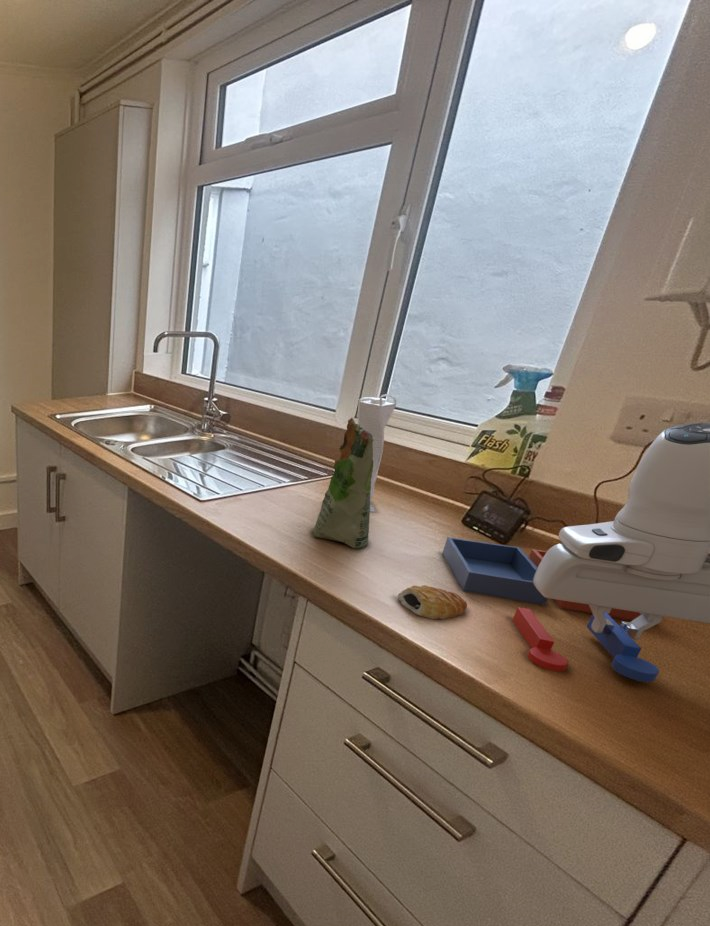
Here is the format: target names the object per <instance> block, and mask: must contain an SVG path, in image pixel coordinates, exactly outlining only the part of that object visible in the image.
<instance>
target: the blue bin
mask: <svg viewBox="0 0 710 926" xmlns="http://www.w3.org/2000/svg"><path fill="white" fill-rule="evenodd" d="M441 555H442V557H443V558H444V560H445V562H446V563H447V565H448V567H449V569H450V571H451V573H452V575H453V576H454V578H455V580H456V581H457V583H458V585H459V587H460V588H461V590H462V591H463V592H467V593H474V594H478V595H485V596H491V597H496V598H503V599H508V600H514V601H520V602H525V603H531V604H537V605H542V606H545V605H546V604H547V601H548V599H549V598H546V597H544V596H543V595H542V594H541V593H540V592H539V591H538V590H537V588H536V587H535V585H534V583H533V578H534V575H535V573H536V570H537V567H536V566H535V564H534V563H533V562H532V561H531V560H530V559H529V555H527V554H526V553H525V552H524V550H522V548H521V547H520V546H512V545H506V544H500V543H492V542H484V541H478V540H472V539H471V540H470V539H464V538H457V537H449V536H447V538H446V541H445V544H444V547H443V550H442V553H441Z"/></svg>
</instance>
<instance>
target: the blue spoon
mask: <svg viewBox="0 0 710 926" xmlns="http://www.w3.org/2000/svg"><path fill="white" fill-rule="evenodd" d="M603 614H604V616H605V619H609V620H610V621H611V623H613V624H614V625H615V626H614V628H613V630H611V634H609V635H608V634H601V633H596V632H594V631H593V629H592V628H591V625H592V622H593V620H594V618H595V617H594V616H593V613H591V616H590V618H589V620H588V623H587V625H586V628H587V629H588V630H589V632H590V633H591V634H592V635H593V636H594V637H595V639H597V641H598V642H599V643H600V644H601V645H602V646H603V648H604V649H605V650H606V651H607V652H608V653H609V654H610V656H611V657H612V658H613V659H612V662H611V664H610V665H611V668H612V669H613V670H614V671H615V672H617V674H619V675H622V676H624V677H626V678H628V679H631V680H634V681H638V682H642V683H653V682H655V680H656V678H657V676H658V675H659V674H660V670H659V668H658V667H657V665H654V664H653V663H651V662H650V661H648V660H646V659H643V658H640V657H638V656H639V655H640V652H641V650H642V648H641V646H639V644H638V643H636V642H635V640H634V639H632V638H631V637H630V636H629V635H628V634H627V633H626V632H625V631H624V630H623V629H622V628H621V625H619V624H618V623H617V622H616V620H614V619H613V618H612V617H611V616H609V615H608V614H606V613H603Z"/></svg>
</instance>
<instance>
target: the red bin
mask: <svg viewBox="0 0 710 926" xmlns="http://www.w3.org/2000/svg"><path fill="white" fill-rule="evenodd" d="M547 551H548V550H540V549H535V548H531V551H530V553H529V555H528V558H529V559H530V560H531V561H532V562H533V563H534V564H535V566H536V567H537V568H538V566H539V564H540V562H541V561H542V559H543V557H544V555H545V554H546V552H547ZM552 600H553V602H554V603H555V604H556V605H557V607H558V608H559V609H565V610H571V611H577V612H583V613H589V614H593V613H592V611H591V608H590V606H589V604H582V603H576V602H570V601H563V600H557V599H552ZM608 615H609V616H610V617H611V618H612V617H613V618H617V619H618V618H619V619H623V620H628V621H633V620H634V619H636V618H637V617H639V616H640V615H642V614H640V613H639V612H633V611H627V610H621V609H614V608H612V609H611V611H610V613H609V614H608Z"/></svg>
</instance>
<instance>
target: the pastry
mask: <svg viewBox="0 0 710 926" xmlns="http://www.w3.org/2000/svg"><path fill="white" fill-rule="evenodd" d="M397 598H398V601H399V602H400V604H402V605H403V606H404V607H405V608H407V609H408V610H410V611H411V612H413V613H414V614H415V615H417V616H418V617H424V618H426V619H432V620H437V619H441V620H444V619H449V618H453V617H457V616H461V615H463V614H464V613H465V612H466V610H467V607H468V602H467V601H466V600H465V599H464V598H462V596H461V595H459V594H458V593H455V592H453V591H447V590H445V589H441V588H439V587H438V588H437V587H433V586H429V585H426V584H424V585H421V586H419V585H414V584H413V585H411V586H409V587H406V588H405V589H404V590H402V591H401V592H399V593H398V594H397Z"/></svg>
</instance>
